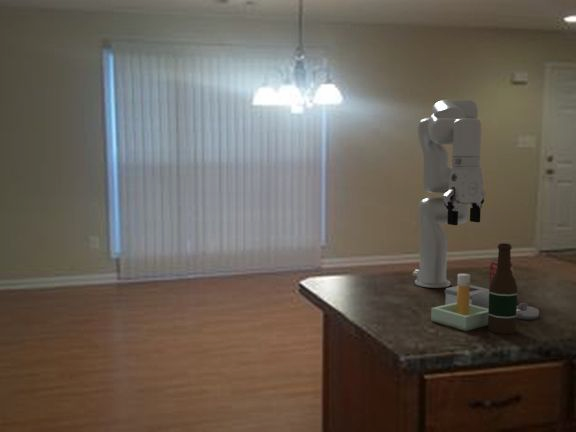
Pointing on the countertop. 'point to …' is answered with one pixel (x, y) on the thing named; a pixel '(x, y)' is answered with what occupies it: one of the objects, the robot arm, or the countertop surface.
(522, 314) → the metal pot lid
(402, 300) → the countertop surface
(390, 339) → the countertop surface
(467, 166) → the robot arm
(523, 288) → the countertop surface
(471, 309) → the tray
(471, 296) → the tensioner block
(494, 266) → the soda can
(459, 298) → the pin
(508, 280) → the beer bottle
